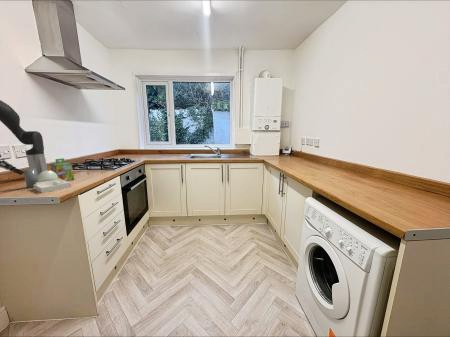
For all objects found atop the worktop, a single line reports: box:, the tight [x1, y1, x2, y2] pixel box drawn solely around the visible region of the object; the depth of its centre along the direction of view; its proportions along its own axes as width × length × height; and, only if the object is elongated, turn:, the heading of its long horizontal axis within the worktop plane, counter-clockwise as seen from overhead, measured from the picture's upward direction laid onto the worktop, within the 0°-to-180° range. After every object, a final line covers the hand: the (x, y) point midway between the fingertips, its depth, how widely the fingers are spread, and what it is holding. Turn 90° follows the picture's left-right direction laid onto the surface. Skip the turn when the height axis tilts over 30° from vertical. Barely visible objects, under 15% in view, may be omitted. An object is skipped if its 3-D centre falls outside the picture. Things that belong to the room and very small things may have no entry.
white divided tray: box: [33, 170, 72, 194], centre depth 112 cm, size 15×13×10 cm
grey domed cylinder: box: [22, 168, 38, 189], centre depth 116 cm, size 5×5×11 cm
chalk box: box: [50, 157, 75, 182], centre depth 130 cm, size 9×9×15 cm
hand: (20, 172), depth 112 cm, fingers open, 8 cm apart
